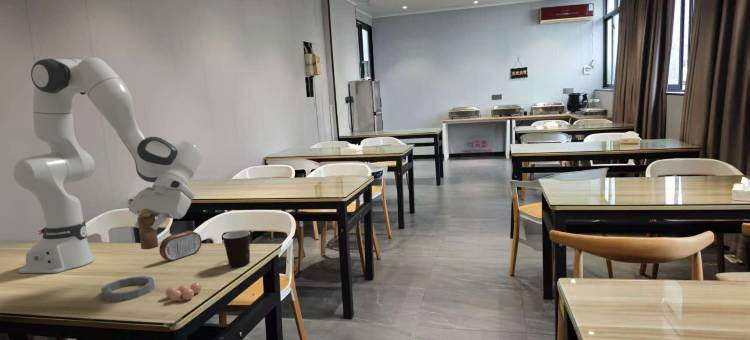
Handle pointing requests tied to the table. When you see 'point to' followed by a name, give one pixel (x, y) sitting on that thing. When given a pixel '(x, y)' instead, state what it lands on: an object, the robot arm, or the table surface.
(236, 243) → the coffee mug
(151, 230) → the pepper mill
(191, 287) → the bead pile
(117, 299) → the ring
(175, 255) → the tin
